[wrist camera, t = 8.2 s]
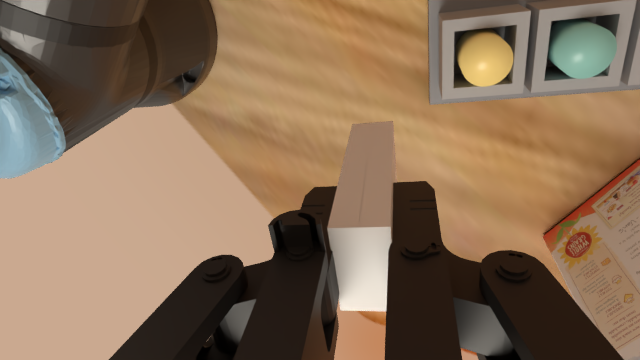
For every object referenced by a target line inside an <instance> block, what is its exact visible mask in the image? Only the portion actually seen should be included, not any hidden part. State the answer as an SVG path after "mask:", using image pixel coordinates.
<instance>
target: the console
mask: <svg viewBox="0 0 640 360" xmlns="http://www.w3.org/2000/svg"><path fill="white" fill-rule="evenodd" d="M575 18H582V19H585V20H587V21H590V22H592V23H594V24H597V25H599V26H601V27H603V28H606V29H608V30H609V31H610V32H612V34H613V35H614V36H615V38H616V42H617V51H616V54H615V57H614V59H613V61H612V62H611V64H610V65H609V66H608V67H607V68H606V69H605V70H604V71H602V72H601V73H599V74H597V75H595V76H593V77H590V78H585V79H577V78H573V77H570V76H568V75H567V74H566V73H564V72H563V71H562V70H561V69H559V68H558V67H557V66H556V65H554V64H553V63H552V62H551V61H549V60H548V59H547V53H548V45H549V37H550V28H551V27H552V26H553V25H554V24H555V23H557V22H558V21H560V20H566V19H575ZM482 28H490V29H492V30H494V31H495V32H496V33H497V34H498V35H499V36H500V37H501V38H502V39H503V40H504V41H505V42H506V43H507V44H508V45H509V46H510V47H511V49H512V52H513V65H512V68H511V70H510V72H509V73H508V75H507V76H506V77H505V78H504V79H503V80H501V81H500V82H498V83H496V84H494V85H491V86H486V87H481V86H476V85H473V84H471V83H470V82H469V81H467V80H466V78H465V77H464V75H463V73H462V71H461V69H460V67H459V65H458V62H457V60H456V57H455V48H456V45H457V42H458V40H459V39H460V38H461V36H462V35H463V34H464V33H466V32H467V31H469V30H473V29H482ZM428 37H429V102H430V105H432V104H446V103H459V102H473V101H486V100H500V99H513V98H527V97H540V96H554V95H567V94H581V93H595V92H608V91H622V90H635V89H640V0H428Z"/></svg>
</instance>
